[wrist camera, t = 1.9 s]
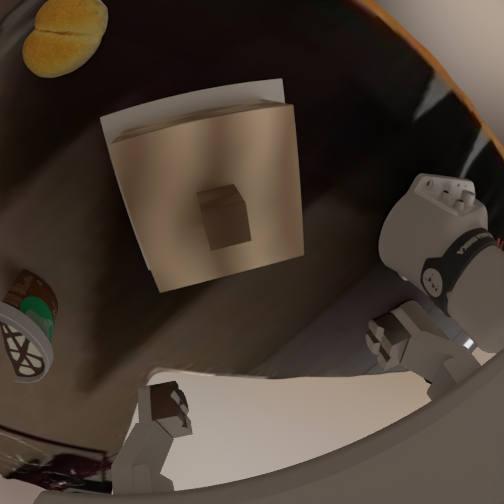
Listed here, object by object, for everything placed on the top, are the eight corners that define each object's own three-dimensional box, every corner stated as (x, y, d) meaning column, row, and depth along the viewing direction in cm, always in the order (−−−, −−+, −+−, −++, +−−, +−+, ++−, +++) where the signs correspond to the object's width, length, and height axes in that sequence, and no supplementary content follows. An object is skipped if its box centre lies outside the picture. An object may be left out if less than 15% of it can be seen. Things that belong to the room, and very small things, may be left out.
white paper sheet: (280, 78, 26) (281, 78, 26) (294, 230, 37) (296, 232, 36) (101, 117, 24) (99, 117, 24) (148, 267, 34) (148, 270, 34)
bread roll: (19, 70, 18) (1, 71, 15) (56, -8, 15) (42, -18, 12) (83, 86, 22) (71, 87, 19) (123, 5, 19) (116, -5, 15)
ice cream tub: (68, 337, 36) (57, 393, 28) (31, 329, 34) (15, 383, 26) (64, 268, 31) (42, 326, 23) (21, 259, 29) (-9, 313, 20)
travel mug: (421, 295, 52) (476, 357, 38) (409, 324, 56) (456, 385, 42) (392, 304, 50) (449, 374, 36) (380, 333, 55) (428, 401, 40)
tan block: (265, 99, 27) (316, 110, 18) (279, 221, 35) (321, 279, 25) (123, 130, 25) (97, 157, 16) (159, 251, 33) (160, 323, 24)
